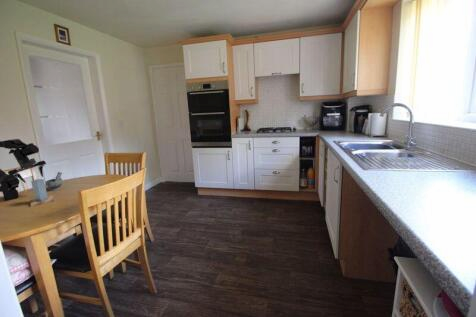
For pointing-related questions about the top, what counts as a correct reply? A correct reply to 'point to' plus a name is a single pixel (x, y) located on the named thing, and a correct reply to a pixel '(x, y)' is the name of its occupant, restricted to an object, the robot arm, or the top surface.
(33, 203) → the walnut pad
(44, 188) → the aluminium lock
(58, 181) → the mortar and pestle
